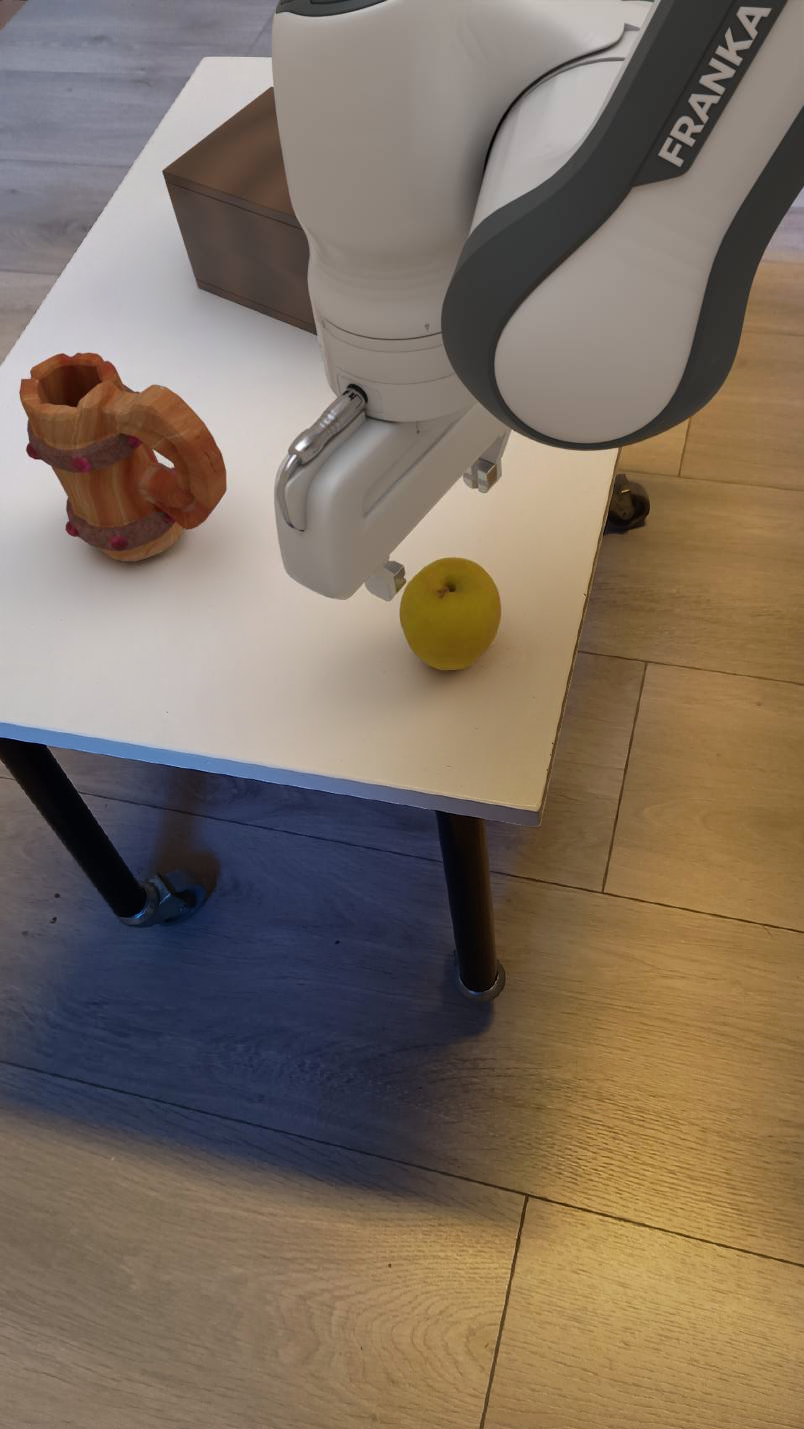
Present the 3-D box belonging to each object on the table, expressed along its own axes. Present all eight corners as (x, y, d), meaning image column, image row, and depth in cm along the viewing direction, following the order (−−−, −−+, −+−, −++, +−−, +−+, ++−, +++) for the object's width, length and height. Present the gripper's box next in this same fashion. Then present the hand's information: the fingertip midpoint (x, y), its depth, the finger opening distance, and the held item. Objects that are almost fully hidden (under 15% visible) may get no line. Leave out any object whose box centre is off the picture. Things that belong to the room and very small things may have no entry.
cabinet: (443, 254, 96) (431, 131, 87) (346, 346, 91) (323, 226, 82) (295, 204, 103) (271, 85, 94) (197, 287, 98) (161, 170, 89)
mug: (55, 554, 82) (-34, 393, 69) (119, 479, 85) (45, 314, 73) (219, 614, 77) (154, 453, 64) (279, 532, 80) (229, 364, 68)
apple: (429, 706, 71) (416, 630, 64) (392, 635, 74) (376, 555, 67) (520, 670, 71) (517, 590, 65) (480, 600, 75) (472, 518, 68)
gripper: (327, 495, 46) (370, 685, 58) (584, 234, 54) (577, 446, 66) (216, 442, 49) (278, 634, 60) (478, 200, 57) (488, 410, 68)
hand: (436, 534), depth 63 cm, fingers open, 8 cm apart
